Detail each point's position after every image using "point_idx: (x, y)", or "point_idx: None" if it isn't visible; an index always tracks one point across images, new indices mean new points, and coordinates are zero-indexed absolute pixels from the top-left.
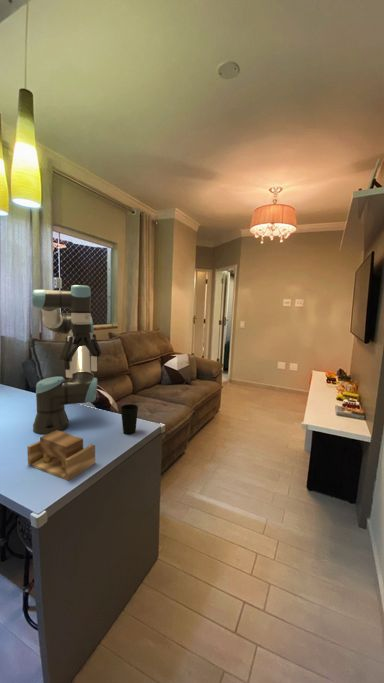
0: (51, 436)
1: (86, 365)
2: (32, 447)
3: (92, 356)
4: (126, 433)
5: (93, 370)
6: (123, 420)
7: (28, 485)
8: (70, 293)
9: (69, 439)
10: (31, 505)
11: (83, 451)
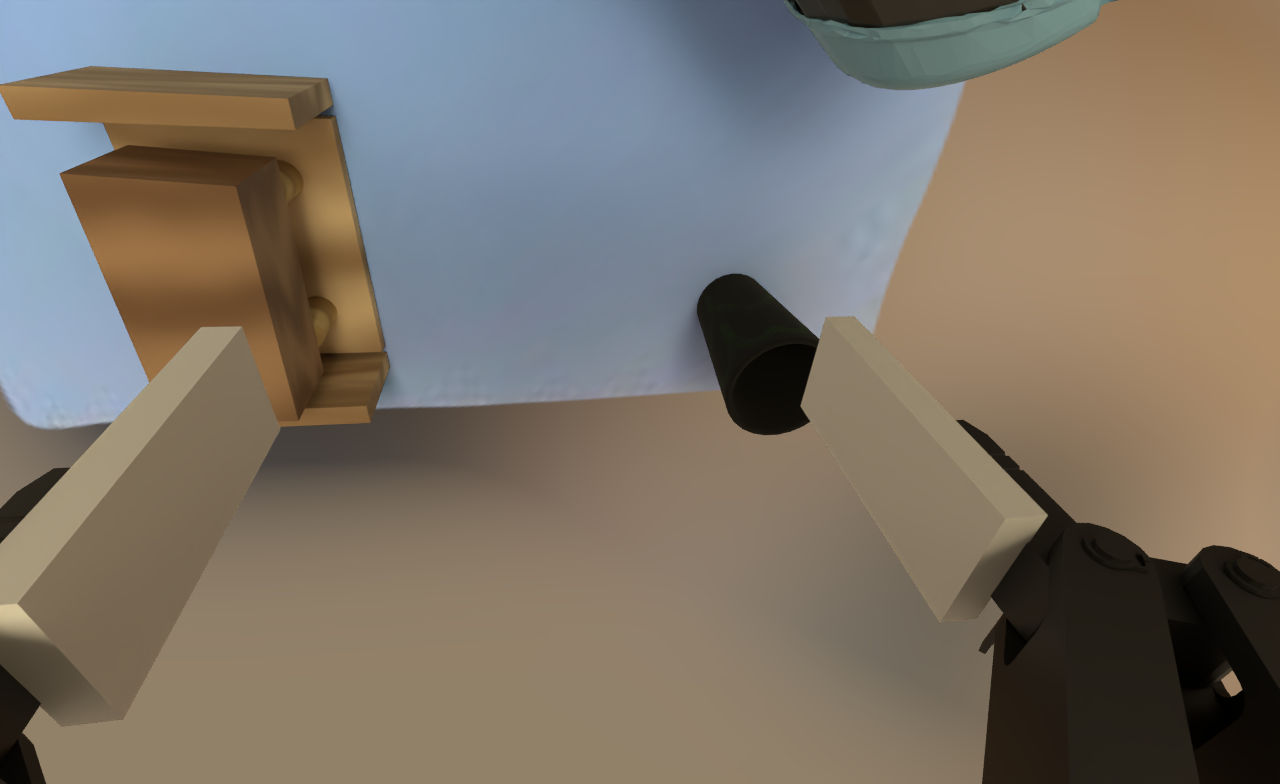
0: (146, 242)
1: None
2: (44, 118)
3: (979, 558)
4: (698, 314)
5: (815, 372)
6: (715, 338)
7: (36, 253)
8: None
9: None
10: (12, 377)
11: (283, 425)
